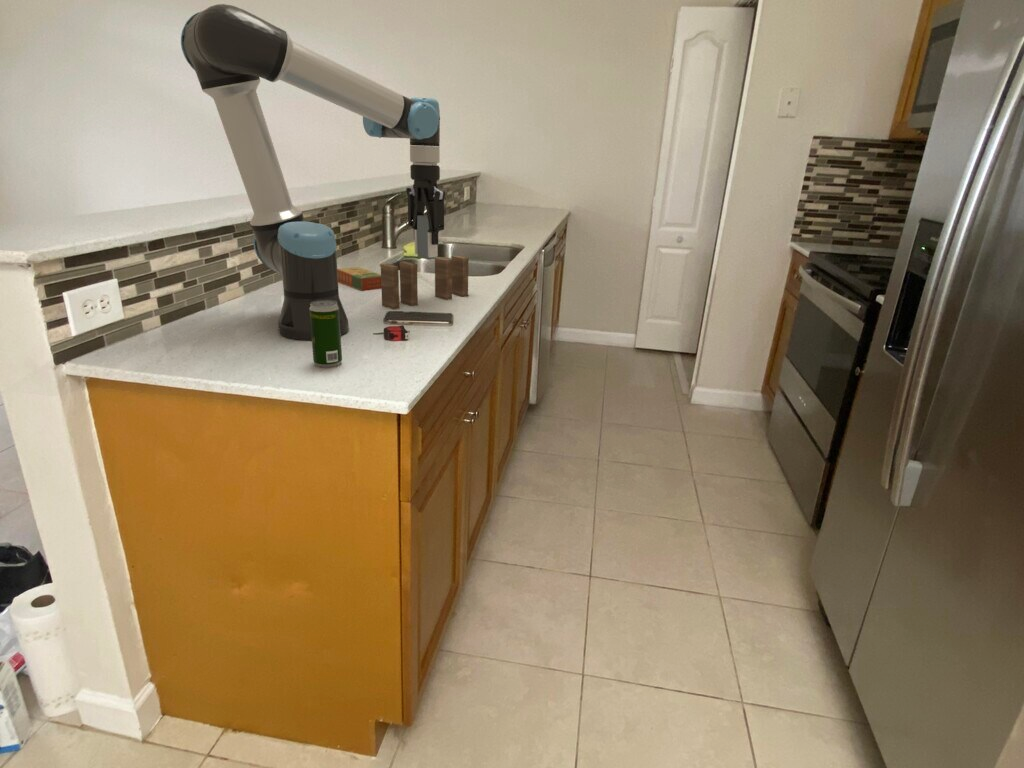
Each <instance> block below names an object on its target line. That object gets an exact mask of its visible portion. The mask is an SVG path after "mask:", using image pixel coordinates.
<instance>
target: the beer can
mask: <svg viewBox="0 0 1024 768" xmlns="http://www.w3.org/2000/svg"><path fill="white" fill-rule="evenodd" d="M309 311H310V324H311V337H312V340H311V348H312V360H313V363H314V365H315V366H316V367H317V368H325V369H326V368H329V369H330V368H335V367H338V366H340V365H341V363H342V361H343V353H342V352H343V351H342V350H343V349H342V335H341V333H340V317H339V307H338V305H337V302H336V301H331V300H319V301H313V302H311V303H310V308H309Z"/></svg>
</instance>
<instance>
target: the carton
mask: <svg viewBox="0 0 1024 768" xmlns="http://www.w3.org/2000/svg"><path fill="white" fill-rule="evenodd" d="M337 273H338V284H339V283H340V284H341V283H342V285H344V286H346V287H349V288H353V289H355V290H357V291H360V292H365V291H366V290H367V291H372V290H373V291H374V290H381V273H380V274H379V273H377V272H374V271H371V270H368V269H364V268H362V267H359V266H358V267H357V266H356V267H355V266H354V267H344V268H343V267H342V268H337Z"/></svg>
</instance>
